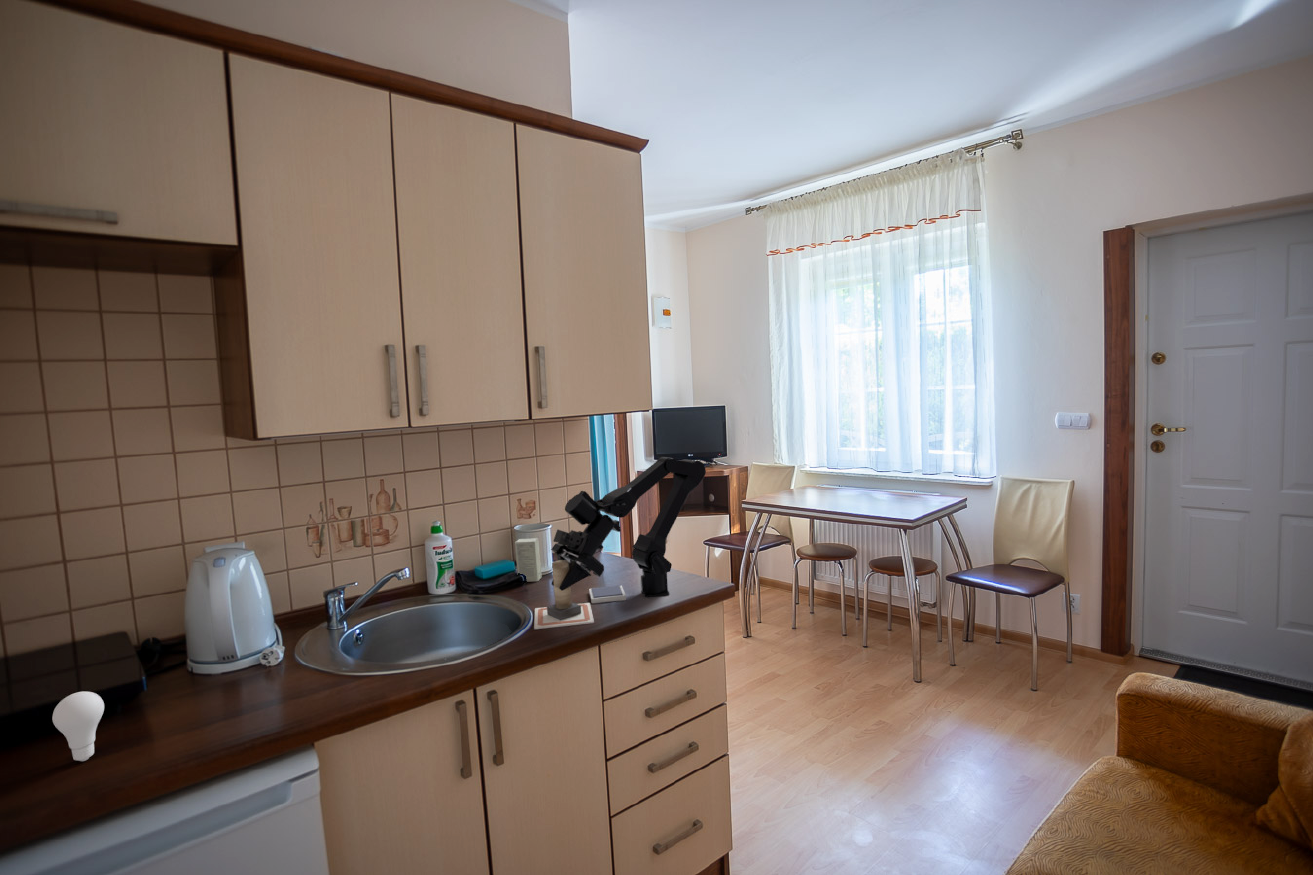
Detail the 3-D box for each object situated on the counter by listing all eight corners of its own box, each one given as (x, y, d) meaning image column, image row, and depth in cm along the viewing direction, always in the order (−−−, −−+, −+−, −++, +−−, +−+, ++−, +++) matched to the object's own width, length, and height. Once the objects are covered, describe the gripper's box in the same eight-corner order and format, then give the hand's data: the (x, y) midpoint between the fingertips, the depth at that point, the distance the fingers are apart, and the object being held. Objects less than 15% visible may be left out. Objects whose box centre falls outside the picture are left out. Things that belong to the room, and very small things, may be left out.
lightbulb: (49, 767, 101) (41, 699, 100) (95, 746, 106) (87, 682, 106) (73, 774, 98) (64, 705, 98) (118, 752, 104) (111, 687, 103)
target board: (589, 604, 167) (589, 602, 167) (594, 622, 153) (593, 620, 153) (535, 609, 164) (534, 607, 164) (534, 629, 151) (534, 627, 150)
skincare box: (542, 577, 193) (539, 537, 192) (537, 581, 189) (535, 541, 188) (521, 577, 194) (519, 538, 193) (517, 582, 190) (514, 541, 189)
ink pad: (621, 589, 178) (621, 584, 177) (626, 599, 169) (625, 594, 169) (589, 592, 176) (589, 587, 176) (591, 603, 167) (591, 597, 167)
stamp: (567, 607, 163) (564, 557, 162) (581, 613, 158) (577, 561, 157) (547, 614, 159) (543, 563, 158) (560, 620, 154) (556, 567, 153)
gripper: (556, 511, 167) (518, 561, 161) (589, 522, 151) (549, 577, 146) (585, 536, 172) (549, 585, 166) (620, 549, 156) (582, 603, 151)
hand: (556, 587), depth 157 cm, fingers closed on stamp, 4 cm apart
